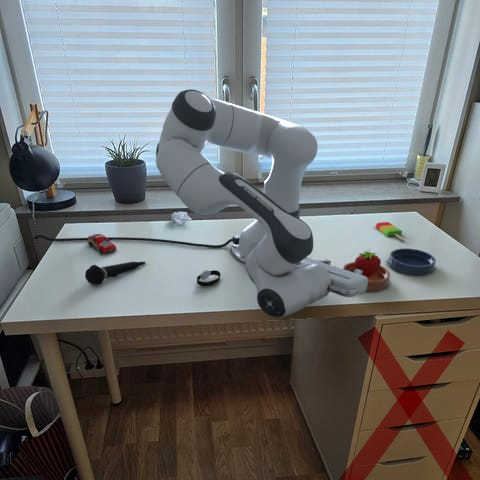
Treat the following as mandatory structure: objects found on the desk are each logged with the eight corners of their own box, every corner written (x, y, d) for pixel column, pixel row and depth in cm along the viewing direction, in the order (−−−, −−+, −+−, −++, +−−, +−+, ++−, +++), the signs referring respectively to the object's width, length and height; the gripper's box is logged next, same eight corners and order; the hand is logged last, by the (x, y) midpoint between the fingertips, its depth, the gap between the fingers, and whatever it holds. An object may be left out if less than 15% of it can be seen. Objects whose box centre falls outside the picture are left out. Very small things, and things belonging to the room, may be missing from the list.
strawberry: (381, 283, 126) (387, 251, 121) (356, 285, 125) (361, 253, 119) (372, 274, 131) (378, 242, 126) (348, 276, 130) (353, 244, 124)
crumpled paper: (192, 214, 163) (174, 215, 161) (191, 225, 165) (174, 226, 163) (186, 207, 169) (169, 208, 167) (186, 218, 171) (169, 219, 169)
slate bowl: (405, 278, 130) (408, 269, 128) (379, 260, 140) (381, 251, 138) (442, 272, 133) (445, 263, 132) (414, 254, 144) (416, 246, 142)
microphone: (141, 271, 138) (84, 287, 125) (137, 253, 137) (79, 267, 123) (152, 271, 135) (94, 287, 121) (148, 252, 133) (89, 266, 119)
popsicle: (387, 226, 165) (388, 221, 164) (410, 241, 153) (411, 236, 152) (374, 227, 164) (375, 222, 163) (396, 243, 152) (397, 238, 151)
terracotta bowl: (356, 294, 121) (358, 285, 119) (332, 274, 132) (334, 265, 130) (397, 287, 125) (399, 278, 123) (371, 268, 135) (372, 259, 134)
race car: (119, 253, 143) (117, 241, 141) (103, 257, 140) (101, 245, 138) (101, 240, 152) (100, 229, 150) (86, 244, 149) (84, 233, 147)
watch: (214, 275, 130) (214, 264, 128) (224, 281, 127) (224, 270, 125) (193, 283, 126) (192, 272, 124) (203, 289, 123) (202, 278, 121)
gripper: (351, 283, 98) (382, 267, 107) (280, 259, 111) (312, 246, 119) (348, 308, 101) (377, 290, 110) (279, 282, 114) (310, 268, 122)
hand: (343, 267), depth 115 cm, fingers open, 8 cm apart
